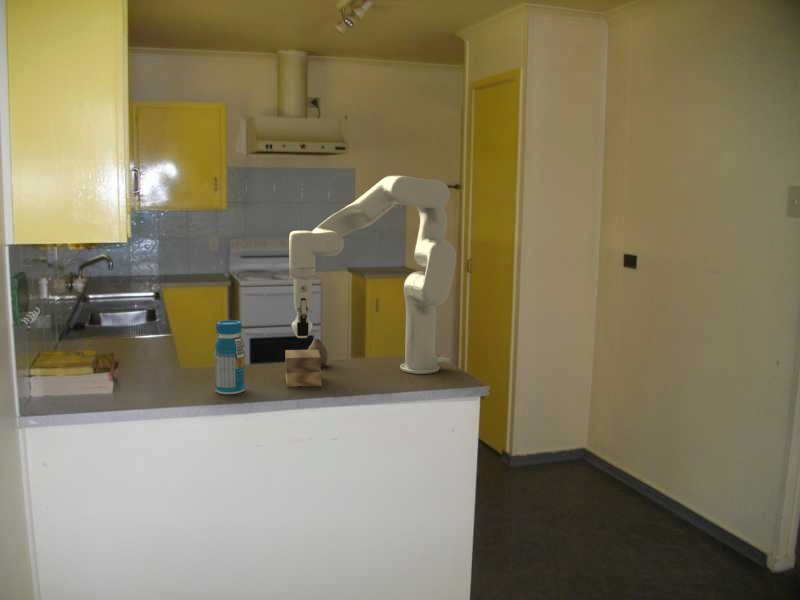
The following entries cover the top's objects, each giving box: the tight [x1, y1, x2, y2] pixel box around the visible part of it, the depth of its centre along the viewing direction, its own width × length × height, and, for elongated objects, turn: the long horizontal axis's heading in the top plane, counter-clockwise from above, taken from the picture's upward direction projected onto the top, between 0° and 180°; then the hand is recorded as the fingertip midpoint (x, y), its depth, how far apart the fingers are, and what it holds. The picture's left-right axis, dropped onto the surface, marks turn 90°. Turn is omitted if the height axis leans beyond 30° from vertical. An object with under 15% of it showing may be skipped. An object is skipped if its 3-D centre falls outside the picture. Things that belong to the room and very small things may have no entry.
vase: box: [307, 338, 329, 368], centre depth 245 cm, size 7×7×9 cm
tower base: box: [285, 371, 323, 388], centre depth 226 cm, size 10×10×4 cm
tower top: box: [284, 349, 322, 374], centre depth 226 cm, size 10×10×4 cm
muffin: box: [291, 314, 314, 339], centre depth 224 cm, size 6×6×7 cm
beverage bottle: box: [213, 319, 246, 395], centre depth 214 cm, size 8×8×20 cm
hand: (302, 332), depth 224 cm, fingers closed on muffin, 6 cm apart
